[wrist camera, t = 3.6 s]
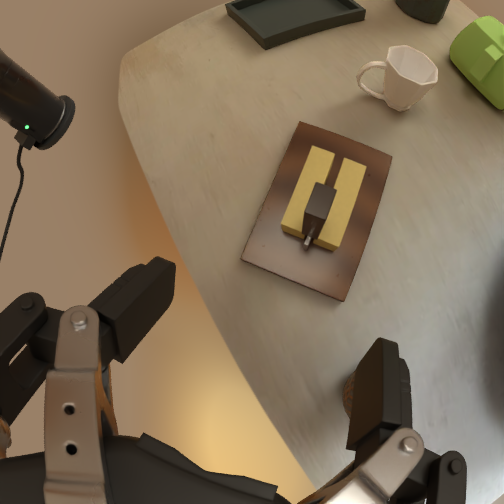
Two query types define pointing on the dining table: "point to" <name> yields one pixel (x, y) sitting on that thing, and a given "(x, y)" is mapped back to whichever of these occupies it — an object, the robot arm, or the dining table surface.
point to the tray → (291, 17)
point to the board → (315, 257)
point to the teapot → (482, 57)
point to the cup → (403, 77)
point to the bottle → (424, 9)
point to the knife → (317, 211)
